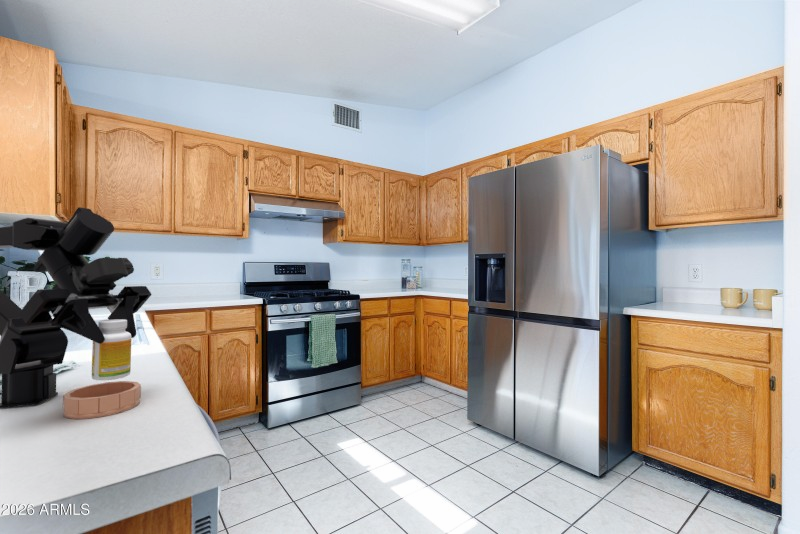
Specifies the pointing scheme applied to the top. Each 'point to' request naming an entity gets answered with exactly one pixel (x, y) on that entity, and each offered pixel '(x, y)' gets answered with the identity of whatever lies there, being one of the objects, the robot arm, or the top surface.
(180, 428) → the top surface
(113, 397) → the terracotta bowl
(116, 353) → the supplement bottle
